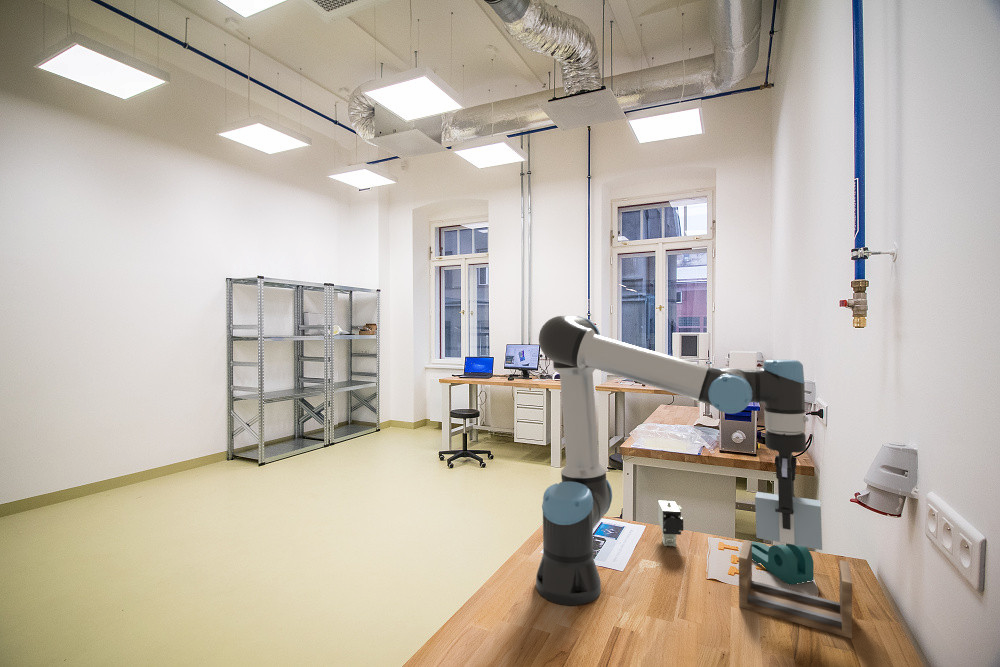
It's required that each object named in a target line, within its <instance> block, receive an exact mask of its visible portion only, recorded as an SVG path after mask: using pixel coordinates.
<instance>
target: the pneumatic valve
mask: <svg viewBox="0 0 1000 667" xmlns="http://www.w3.org/2000/svg"><path fill="white" fill-rule="evenodd" d="M657 521H658V524H659V526H660V529H661V533H662V538H661V541H662V544H663V546H664V547H667V546H668V547H677V545H678V544H677V535H678V536H679V535H682V532H684V519H683V517H682V507H681V505H677V503H676V501H675V500H667V499H657Z"/></svg>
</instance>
